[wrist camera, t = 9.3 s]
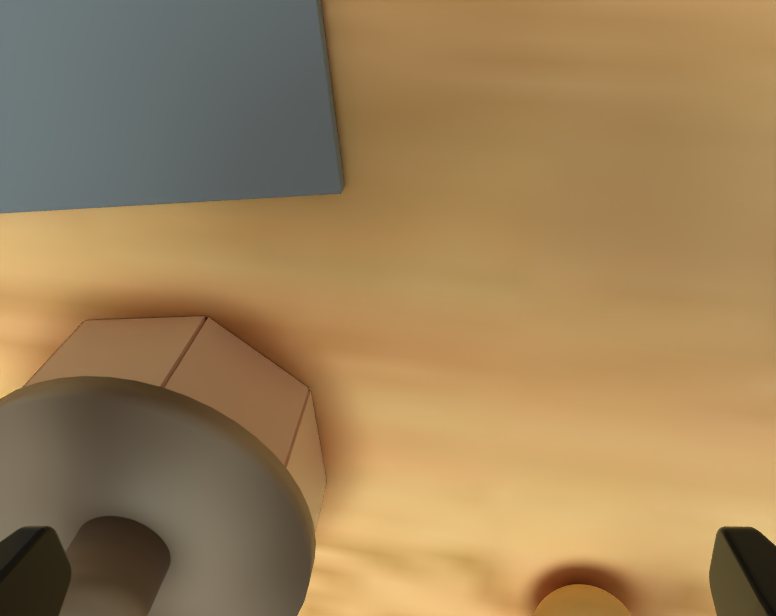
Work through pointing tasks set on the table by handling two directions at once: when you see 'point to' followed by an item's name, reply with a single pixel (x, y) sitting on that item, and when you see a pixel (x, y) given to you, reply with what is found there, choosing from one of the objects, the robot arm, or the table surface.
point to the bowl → (204, 382)
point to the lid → (153, 501)
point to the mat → (163, 103)
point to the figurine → (581, 602)
